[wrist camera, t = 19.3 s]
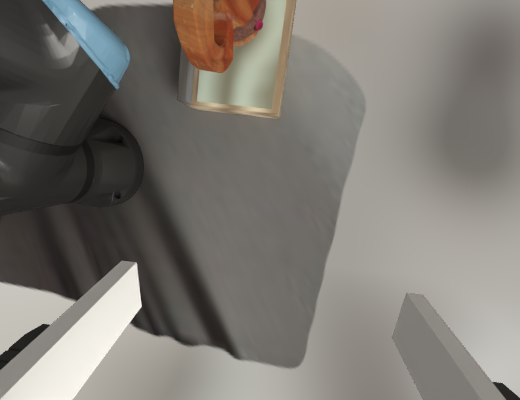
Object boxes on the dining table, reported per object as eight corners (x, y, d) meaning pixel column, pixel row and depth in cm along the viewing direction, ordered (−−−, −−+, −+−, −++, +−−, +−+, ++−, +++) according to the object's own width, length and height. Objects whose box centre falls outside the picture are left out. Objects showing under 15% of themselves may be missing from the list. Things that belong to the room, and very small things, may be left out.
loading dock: (195, 109, 40) (177, 100, 34) (205, -15, 37) (187, -48, 31) (279, 118, 38) (276, 110, 32) (297, -11, 35) (297, -46, 29)
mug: (217, -25, 32) (150, -180, 18) (277, -19, 31) (258, -178, 17) (201, 90, 35) (131, 37, 20) (256, 99, 34) (224, 50, 19)
